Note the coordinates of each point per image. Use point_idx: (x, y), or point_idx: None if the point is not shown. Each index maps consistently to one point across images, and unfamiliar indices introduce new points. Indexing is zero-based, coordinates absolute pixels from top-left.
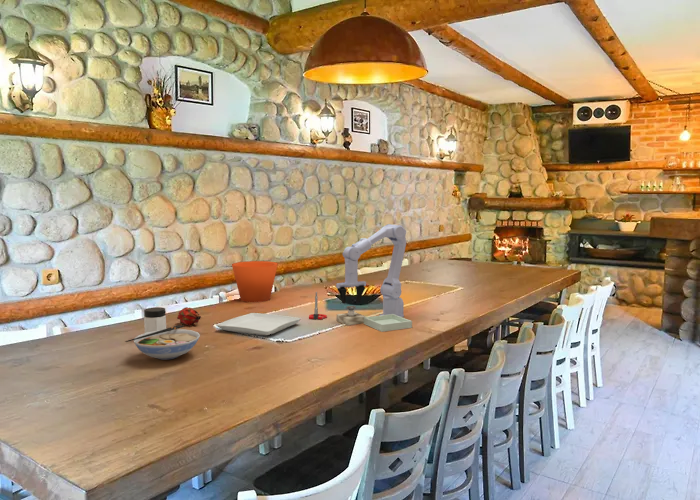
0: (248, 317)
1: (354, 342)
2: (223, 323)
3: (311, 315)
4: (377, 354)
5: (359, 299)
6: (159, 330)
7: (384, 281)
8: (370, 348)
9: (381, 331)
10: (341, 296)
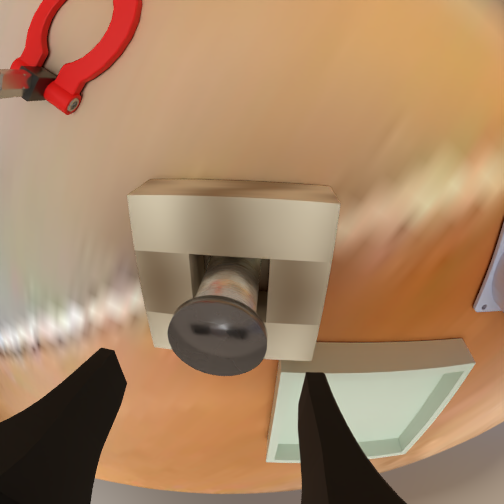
0: None
1: (132, 445)
2: None
3: (41, 20)
4: (158, 483)
5: (301, 434)
6: None
7: None
8: (157, 471)
9: (267, 438)
10: (59, 401)
